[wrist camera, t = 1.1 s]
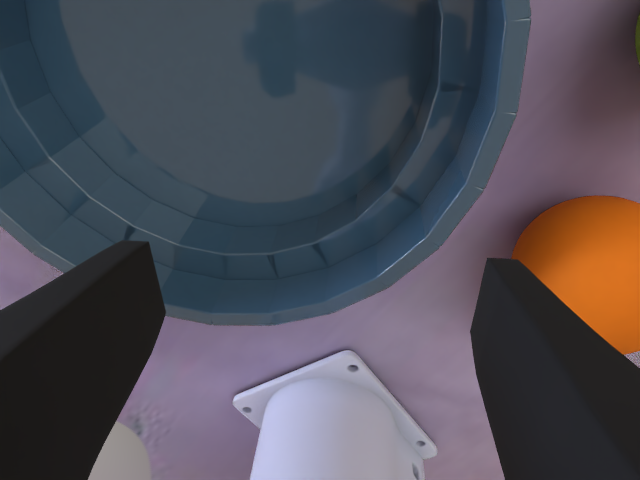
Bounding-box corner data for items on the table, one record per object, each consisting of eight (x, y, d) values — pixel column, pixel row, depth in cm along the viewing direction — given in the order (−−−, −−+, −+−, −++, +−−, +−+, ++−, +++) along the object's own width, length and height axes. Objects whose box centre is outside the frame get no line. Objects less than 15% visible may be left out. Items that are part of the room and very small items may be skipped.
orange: (662, 252, 19) (754, 355, 15) (526, 304, 21) (569, 410, 17) (619, 141, 17) (713, 222, 12) (472, 212, 19) (504, 305, 14)
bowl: (569, 122, 17) (628, 180, 13) (212, 307, 23) (180, 382, 19) (273, -565, 10) (209, -886, 6) (-121, -24, 16) (-272, -9, 12)
